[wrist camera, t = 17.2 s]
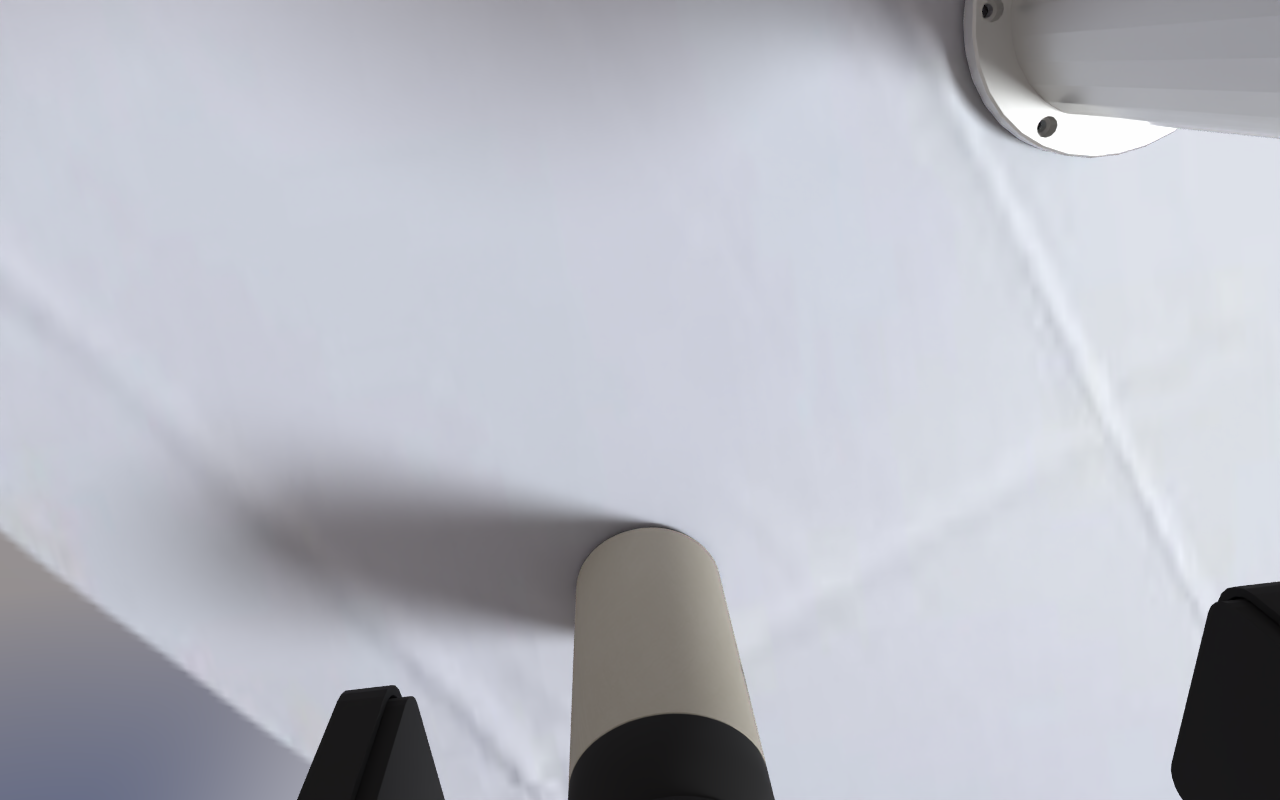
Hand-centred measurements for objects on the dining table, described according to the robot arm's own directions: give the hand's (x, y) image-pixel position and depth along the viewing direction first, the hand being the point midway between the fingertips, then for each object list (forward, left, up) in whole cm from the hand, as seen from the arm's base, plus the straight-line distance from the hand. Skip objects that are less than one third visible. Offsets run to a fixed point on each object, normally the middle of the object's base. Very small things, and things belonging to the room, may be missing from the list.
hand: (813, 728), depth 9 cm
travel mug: (+2, +19, -28) cm, 34 cm away
